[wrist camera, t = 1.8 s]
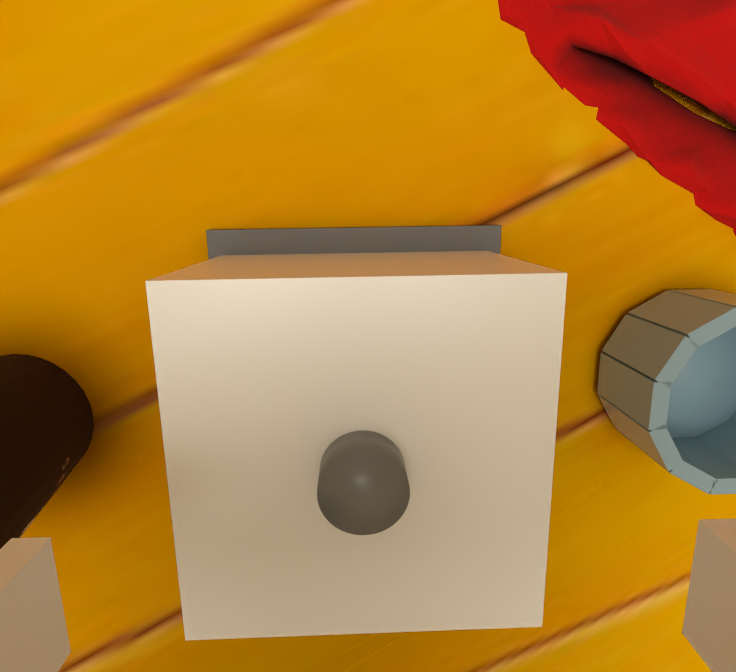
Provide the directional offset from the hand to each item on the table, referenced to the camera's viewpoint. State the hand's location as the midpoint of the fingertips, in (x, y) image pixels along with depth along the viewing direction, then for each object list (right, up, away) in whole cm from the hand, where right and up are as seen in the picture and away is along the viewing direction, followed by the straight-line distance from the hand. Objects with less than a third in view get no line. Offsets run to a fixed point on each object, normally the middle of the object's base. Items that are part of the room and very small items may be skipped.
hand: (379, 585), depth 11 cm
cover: (-1, +3, +14) cm, 14 cm away
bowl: (+15, +4, +15) cm, 21 cm away
